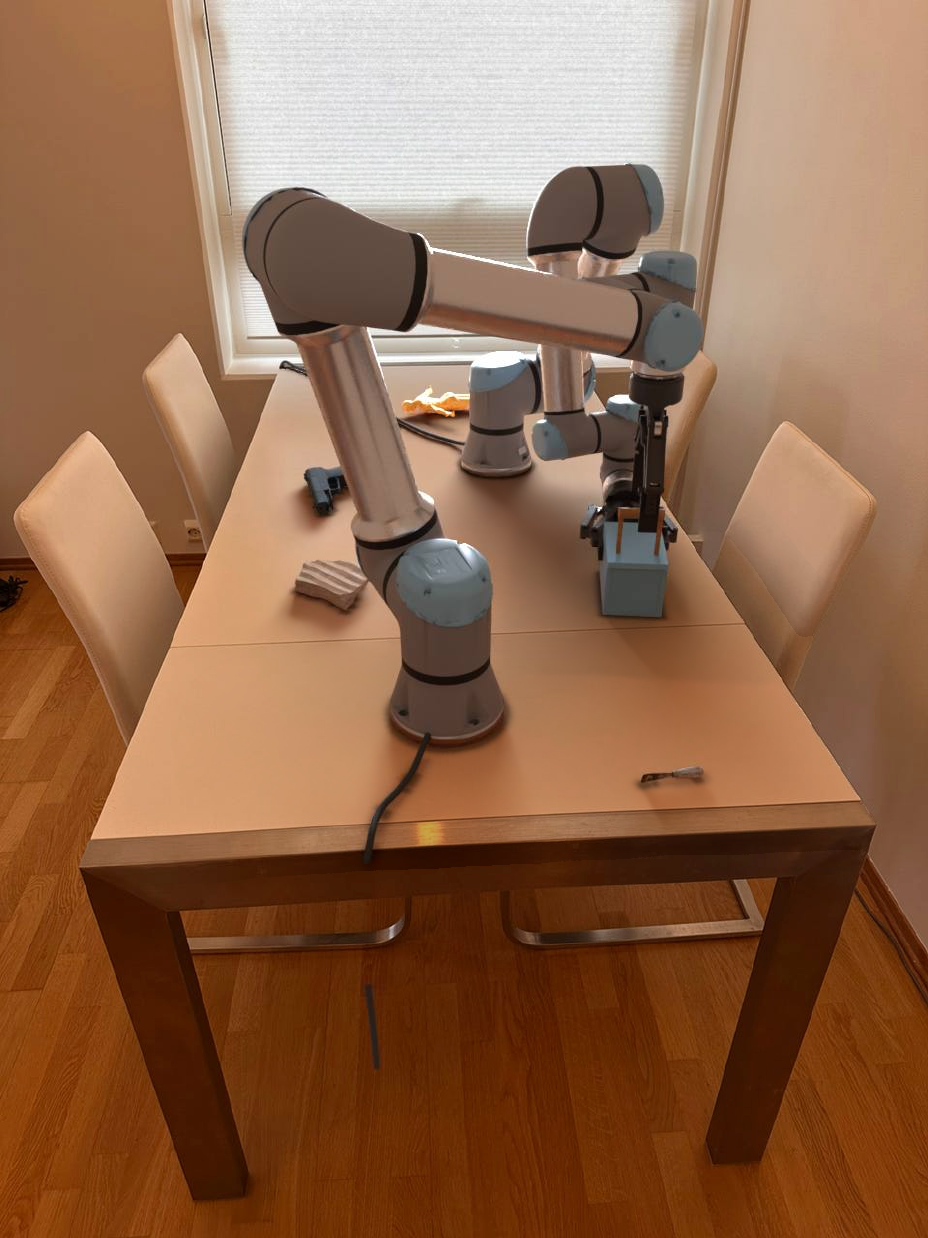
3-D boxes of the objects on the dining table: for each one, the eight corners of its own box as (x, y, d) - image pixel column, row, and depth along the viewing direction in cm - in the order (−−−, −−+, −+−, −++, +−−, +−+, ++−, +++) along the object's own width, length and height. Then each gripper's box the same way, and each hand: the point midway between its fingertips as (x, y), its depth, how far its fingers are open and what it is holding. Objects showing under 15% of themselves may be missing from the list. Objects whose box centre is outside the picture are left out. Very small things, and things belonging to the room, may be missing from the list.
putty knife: (703, 777, 109) (705, 767, 109) (642, 788, 108) (644, 777, 107) (700, 772, 110) (702, 762, 109) (639, 782, 109) (640, 771, 108)
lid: (668, 570, 136) (675, 518, 131) (607, 568, 137) (612, 516, 132) (659, 528, 148) (665, 480, 143) (603, 526, 149) (607, 478, 144)
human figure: (395, 413, 223) (394, 398, 221) (438, 390, 237) (438, 375, 235) (462, 429, 215) (462, 413, 213) (502, 404, 229) (503, 388, 227)
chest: (661, 617, 141) (667, 568, 137) (602, 614, 142) (607, 566, 137) (653, 575, 153) (659, 529, 148) (599, 573, 154) (603, 527, 149)
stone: (382, 577, 152) (381, 564, 151) (347, 611, 143) (346, 598, 142) (316, 564, 157) (314, 551, 155) (279, 596, 147) (277, 583, 146)
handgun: (374, 509, 176) (313, 517, 173) (359, 474, 190) (302, 481, 188) (373, 494, 174) (311, 502, 172) (358, 460, 188) (301, 466, 186)
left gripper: (696, 401, 113) (677, 550, 124) (675, 347, 134) (660, 478, 145) (636, 400, 113) (623, 548, 125) (624, 346, 134) (614, 477, 146)
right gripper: (680, 518, 167) (696, 577, 148) (563, 514, 168) (563, 571, 150) (685, 481, 163) (702, 536, 144) (565, 477, 164) (565, 531, 146)
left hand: (643, 511), depth 135 cm, fingers open, 13 cm apart
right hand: (631, 554), depth 147 cm, fingers closed on chest, 9 cm apart
